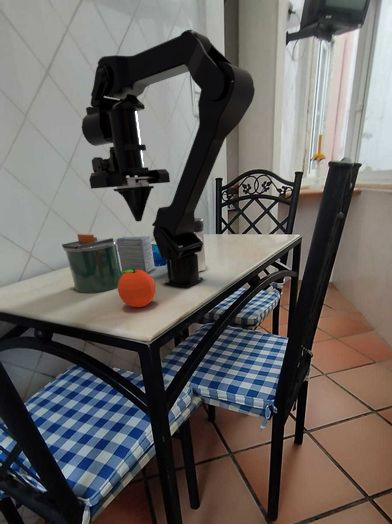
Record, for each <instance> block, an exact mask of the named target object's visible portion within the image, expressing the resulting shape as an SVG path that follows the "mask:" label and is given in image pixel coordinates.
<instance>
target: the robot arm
mask: <svg viewBox="0 0 392 524" xmlns="http://www.w3.org/2000/svg"><path fill="white" fill-rule="evenodd" d="M188 72H189V75H190V77H191V79H192V81H193V82H195V84H196V86H197V87H198V88H199V89H200V93H199V97H198V103H197V105H198V106H197V107H198V122H199V124H198V128H197V131H196V134H195V136H194V139H193V142H192V146H191V147H190V150H189V153H188V156H187V159H186V161H185V162H186V163H185V164H184V167H183V170H182V173H181V176H180V179H179V181H178V185H177V187H176V190H175V193H174V196H173V198H172V201H171V203H170V204H169V205H168V206H167V205H166V206H162V207H158V209H157V211H156V215H155V219H154V221H153V223H152V224H151V225H152V227H153V230H152V236H153V238H154V242H155V244H156V247H157V250H158V252H159V255H160V257H161V259H165V260H166V269H167V278H168V280H166V281H165V282H164V284H165V285H168V286H174V287H179V288H189V287H191V286H194V285H196V284H198V283H201V282H202V281H204V277H201V276H200V271H199V270H198V255H197V254H195V253H197V252H201V251H202V246H203V242H202V241H201V239H200V238H199V237H198V236H197V235H196V233H195V232H194V227H195V218H196V217H195V212H196V209H197V206H198V204H199V202H200V200H201V197H202V195H203V192H204V189H205V187H206V185H207V182H208V180H209V178H210V176H211V173H212V171H213V169H214V166H215V163H216V161H217V159H218V156H219V154H220V151H221V149H222V147H223V145H224V142H225V140H226V139H227V137H228V136H229V135H230V134H231V133H232V131H234V129H235V128H236V127H237V126H238V125H239V124H240V122H241V121H242V119H243V118H244V116H245V115H246V113H247V111H248V109H249V108H250V106H251V104H252V103H253V101H254V97H255V89H256V87H255V86H254V85H255V83H254V80H253V77H252V74H251V73H249V71H248V70H247V69H243V68H241V67H240V66H236V65H235V64H234V63H232V61H231V60H229V59H228V58H227V57H226V56H225V55H224V54H223V53H222V52H221V51H220V50H218V49H217V47H216V46H215V45H214V43H212V42H211V40H210V39H209V38H208V36H205V35H204V34H202V33H199V32H198V31H195V30H193V29H186V30H184V31H183V32H181V33H180V35H178V36H176V37H173V38H171V39H168V40H166V41H163V42H161V43H159V44H156V45H154V46H152V47H150V48H147V49H145V50H142V51H141V52H138V53H136V54H134V55H133V54H132V55H117V54H116V55H104V56H102V57H100V58H99V60H98V61H97V67H96V70H95V75H94V80H93V87H92V90H91V93H90V96H91V99H90V106H87V107H86V108H85V111H86V115H84V117H83V118H82V122H81V132H82V134H83V137H84V138H85V140H86V142H87V143H89V144H90V145H92V146H94V147H98V146H104V145H108V144H112V145H113V146H109V150H108V151H109V152H108V153H109V158H103V157H101V156H94V157H93V158H92V159H91V166H92V171H93V172H91V173H90V176H89V185H90V189H106V188H107V189H108V188H113V189H112V191H114V192H117V193H118V194H119V195H121V197H123V199H124V201H125V203H126V204H127V206H128V208H129V211H130V212H131V214H132V216H133V218H134V220H135V222H137V223H139V222H141V221H142V220H143V217H144V212H145V209H146V206H147V203H148V200H149V197H150V195H151V191H152V189H154V188H155V186H154V185H155V184H167V183H168V184H169V183H171V177H170V173H169V171H168V170H167V169H166V168H160V169H157V168H156V169H149V167H145V163H144V155H143V152H144V151H147V146H146V144H142V140H141V132H140V123H139V116H138V112H140V111H143V110H145V108H146V106H145V104H144V103H143V102H141V101H140V100H139V99H138V97H139V96H141V95H143V93H144V91H145V90H146V88H148V87H149V86H150V85H153V84H156V83H159V82H162V81H165V80H168V79H171V78H174V77H177V76H180V75H183V74H185V73H188ZM153 184H154V185H153ZM179 246H183V247H180V248H179Z"/></svg>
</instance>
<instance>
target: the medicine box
mask: <svg viewBox="0 0 392 524" xmlns="http://www.w3.org/2000/svg"><path fill="white" fill-rule="evenodd" d="M115 240H116V241H117V244H116V248H117V253H118V258H119V264H120V269H121V272H123V271H126V270H133V269H135V270H142V271H144V272H146V273H150V272H152V271H154V269H155V268H156V267H155V261H154V254H153V248H152V240H151V236H150V235H124V236H121V237H118V238H116V239H115ZM123 273H124V272H123Z"/></svg>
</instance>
